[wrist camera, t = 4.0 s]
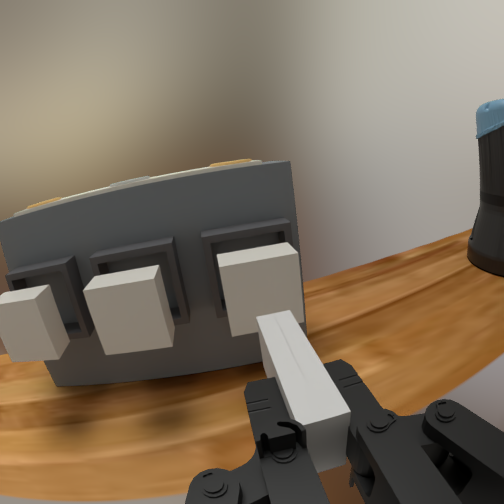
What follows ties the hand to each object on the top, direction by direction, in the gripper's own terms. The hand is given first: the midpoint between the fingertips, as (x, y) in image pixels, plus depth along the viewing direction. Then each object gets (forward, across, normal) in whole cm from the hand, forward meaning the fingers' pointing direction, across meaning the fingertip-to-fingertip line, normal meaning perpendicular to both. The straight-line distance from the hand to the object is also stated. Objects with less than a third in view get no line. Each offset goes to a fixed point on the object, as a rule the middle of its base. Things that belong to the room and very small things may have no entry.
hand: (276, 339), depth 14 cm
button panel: (+13, -8, -9) cm, 18 cm away
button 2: (+6, 0, -2) cm, 6 cm away
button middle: (+6, -8, -2) cm, 10 cm away
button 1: (+6, -16, -2) cm, 17 cm away
